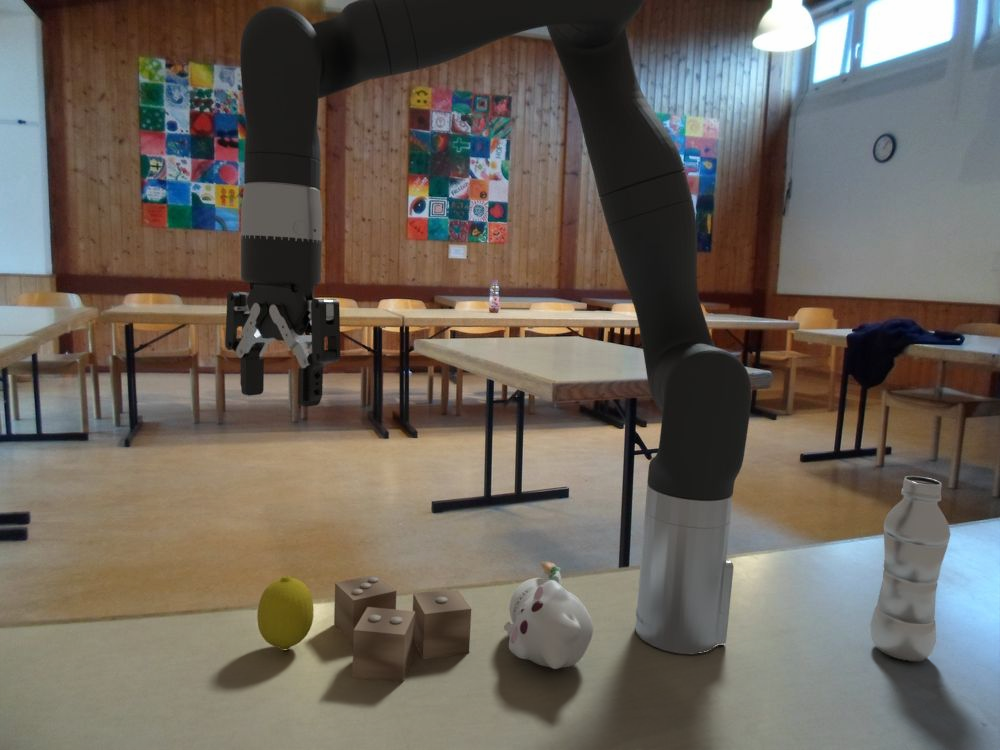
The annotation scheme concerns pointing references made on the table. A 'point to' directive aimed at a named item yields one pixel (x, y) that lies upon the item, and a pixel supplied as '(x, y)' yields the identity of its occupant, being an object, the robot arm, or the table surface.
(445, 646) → the block one dot
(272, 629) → the lemon
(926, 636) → the plastic bottle
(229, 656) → the table surface
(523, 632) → the cat figurine
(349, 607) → the block three dots
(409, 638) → the block two dots
